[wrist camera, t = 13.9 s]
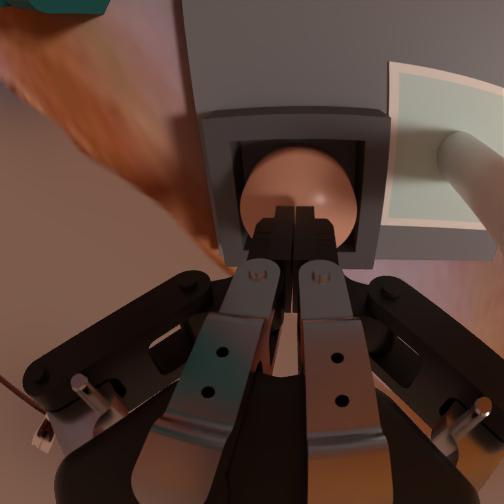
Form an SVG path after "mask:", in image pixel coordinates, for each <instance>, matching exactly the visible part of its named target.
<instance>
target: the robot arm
mask: <svg viewBox="0 0 504 504" xmlns="http://www.w3.org/2000/svg"><path fill="white" fill-rule="evenodd" d="M292 288H293V313H298V315H297V351H298V375H294V376H288V377H275V376H272V374H273V369H274V364H275V360H276V355H277V350H278V346H279V341H280V336H281V332H282V324H283V320H284V312H286V313H291V301H292ZM179 324H180V326H181V329H179V330H178V331H176V332H175V333H173V334H172V335H170V336H169V337H167V338H165V339H164V340H163V341H161V342H159V343H158V344H156V345H155V346H153V347H152V348H150V349H149V346H150V344H151V343H152V342H153V341H155V340H156V339H158V338H159V337H161V336H162V335H164V334H165V333H167V332H168V331H170V330H171V329H173V328H174V327H176V326H178V325H179ZM397 336H398V337H399V338H400V339H402V340H403V341H404V342H405V343H406V344H407V345H409V346H410V347H411V348H412V349H413V350H414V351H415V352H417V353H418V354H419V355H418V354H417V353H415V352H414V351H413V350H412V349H411V348H410V347H409V346H407V345H406V344H405V343H404V342H403V341H402V340H400V339H399V338H398V337H397ZM372 371H373V372H374V373H375V374H376V375H377V376H378V377H379V378H380V379H381V380H382V381H383V382H384V383H385V384H386V385H387V386H388V387H389V388H390V389H391V390H392V391H393V392H394V393H395V394H396V395H397V396H399V397H400V398H401V399H402V400H403V401H404V402H405V403H406V404H407V405H408V406H409V407H410V408H411V409H412V410H413V411H414V412H415V413H416V414H417V415H418V416H419V417H420V418H421V419H422V420H423V421H424V422H425V423H426V424H427V425H428V426H429V427H431V429H432V430H431V441H430V439H429V438H428V437H427V436H426V435H425V434H424V433H423V432H422V431H421V430H420V429H419V428H418V427H417V426H416V424H414V422H413V421H412V420H411V419H410V418H409V417H408V416H407V415H406V414H405V413H404V412H403V411H402V410H401V409H400V407H398V405H397V404H396V403H395V402H394V401H393V400H392V399H391V398H390V397H388V396H387V395H386V394H385V393H383V392H382V391H380V390H378V389H377V388H375V387H374V381H373V375H372ZM178 378H180V379H179V380H178V381H176V382H174V381H175V380H177V379H178ZM172 382H174V383H172ZM171 383H172V384H171ZM168 385H169V386H168ZM165 387H166V388H165ZM23 388H24V390H25V392H26V393H27V394H28V395H29V396H30V397H31V398H33V399H34V400H35V401H36V402H37V403H38V404H39V405H40V406H41V408H42V409H43V410H45V411H46V413H47V415H48V417H49V420H50V423H51V425H52V428H53V430H54V433H55V435H56V438H57V440H58V442H59V445H60V447H61V449H62V451H63V454H64V456H65V459H63V461H62V462H61V464H60V465H59V468H58V470H57V472H56V475H55V481H54V491H55V498H56V504H480V499H479V496H478V492H479V491H480V489H481V488H482V487H483V485H484V484H485V483H486V481H487V480H488V479H489V477H490V476H491V474H492V473H493V472H494V470H495V469H496V467H497V466H498V464H499V463H500V461H501V460H502V458H503V457H504V359H503V358H501V357H500V356H499V355H498V354H497V353H496V352H494V351H493V350H492V349H491V348H490V347H488V346H487V345H486V344H485V343H484V342H482V341H481V340H480V339H479V338H477V337H476V336H475V335H474V334H472V333H471V332H470V331H469V330H467V329H466V328H465V327H464V326H462V325H461V324H460V323H459V322H457V321H456V320H455V319H454V318H452V317H451V316H450V315H448V314H447V313H446V312H445V311H443V310H442V309H441V308H439V307H438V306H437V305H435V304H434V303H433V302H431V301H430V300H429V299H427V298H426V297H425V296H423V295H422V294H421V293H419V292H418V291H417V290H415V289H414V288H412V287H411V286H410V285H408V284H407V283H406V282H404V281H403V280H401V279H399V278H396V277H393V276H380V277H377V278H375V279H373V280H372V281H371V282H370V284H369V285H366V284H362V283H359V282H355V281H353V280H351V279H349V278H347V277H346V276H345V275H344V274H343V271H342V269H341V268H340V267H339V261H338V254H337V246H336V239H335V232H334V225H333V224H332V223H331V222H330V221H329V220H328V219H327V218H315V212H314V206H296V216H295V206H276V210H275V216H274V218H262V219H261V220H260V221H259V222H258V223H257V224H256V227H255V230H254V234H253V238H252V242H251V245H250V249H249V253H248V257H247V260H246V261H245V262H244V263H242V264H241V265H239V267H238V268H237V270H236V272H235V274H234V276H232V277H229V278H226V279H222V280H217V281H210V278H209V276H208V275H207V274H206V273H204V272H201V271H197V270H190V271H185V272H182V273H180V274H177V275H176V276H174V277H172V278H171V279H169V280H167V281H165V282H164V283H162V284H160V285H159V286H157V287H155V288H154V289H152V290H150V291H149V292H147V293H145V294H144V295H142V296H140V297H139V298H137V299H135V300H133V301H132V302H130V303H129V304H127V305H125V306H124V307H122V308H120V309H118V310H117V311H115V312H113V313H112V314H110V315H108V316H107V317H105V318H104V319H102V320H100V321H99V322H97V323H95V324H94V325H92V326H90V327H89V328H87V329H86V330H84V331H83V332H81V333H79V334H77V335H76V336H74V337H72V338H71V339H69V340H68V341H66V342H64V343H63V344H61V345H59V346H58V347H56V348H55V349H53V350H51V351H50V352H48V353H47V354H45V355H43V356H42V357H40V358H39V359H37V360H36V361H34V362H32V363H31V364H30V365H29V367H28V368H27V369H26V371H25V373H24V376H23ZM162 389H163V390H162ZM161 390H162V391H161ZM159 391H160V392H159ZM158 392H159V393H158ZM156 393H158V394H156ZM155 394H156V395H155ZM153 395H155V396H153ZM152 396H153V397H152ZM150 397H152V398H150ZM149 398H150V399H149ZM147 399H149V400H148V401H146V400H147ZM144 401H146V402H145V403H143V402H144ZM141 403H143V404H142V405H141V406H139V407H138V408H136V409H135V410H134V411H132V412H131V413H129V411H131V410H132V409H134V408H135V407H137V406H138V405H140V404H141Z"/></svg>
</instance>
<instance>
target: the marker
mask: <svg viewBox="0 0 504 504" xmlns="http://www.w3.org/2000/svg"><path fill="white" fill-rule="evenodd" d="M437 165H438V168H439V171H440V173H441V174H442V175H443V177H444V178H445V179H446V180H447V181H448V182H449V183H450V184H451V186H452V187H453V188H454V189H455V190H456V191H457V193H458V194H459V195H460V196H461V197H462V199H463V200H464V201H465V202H466V204H467V205H468V206H469V207H470V209H471V210H472V211H473V212H474V214H475V215H476V216H477V218H478V219H479V220H480V222H481V223H482V224H483V226H484V227H485V228H486V230H487V231H488V233H489V234H490V235H491V237H492V238H493V240H494V241H495V243H496V244H497V246H498V247H499V248H500V250H501V252H502V253H503V255H504V157H502V156H501V155H500V154H498V153H497V152H495V151H494V150H493V149H491V148H490V147H488V146H487V145H486V144H484V143H483V142H481V141H480V140H478V139H477V138H475V137H474V136H472V135H471V134H469V133H467V132H463V131H458V132H453V133H451V134H449V135H448V136H447V137H445V138H444V140H443V141H442V142H441V144H440V146H439V148H438V152H437Z"/></svg>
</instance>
